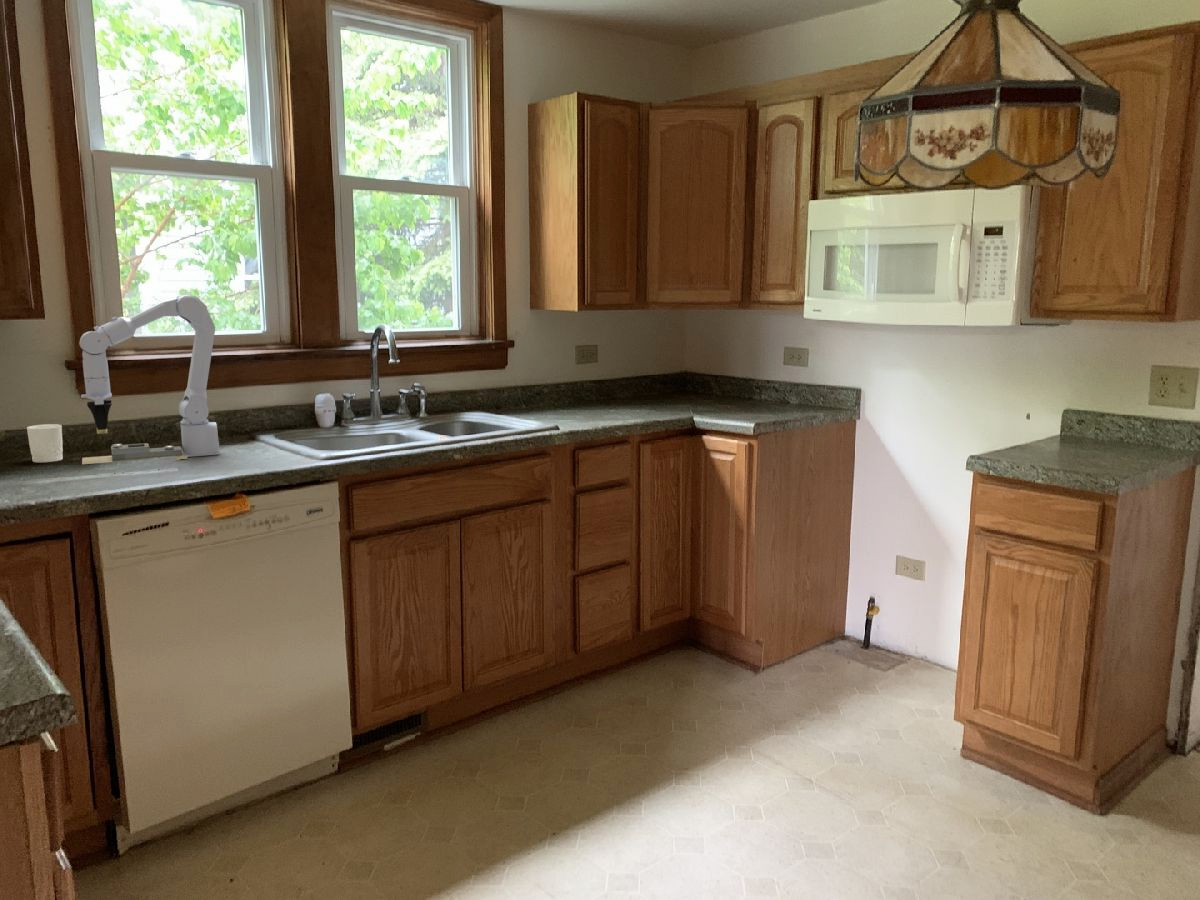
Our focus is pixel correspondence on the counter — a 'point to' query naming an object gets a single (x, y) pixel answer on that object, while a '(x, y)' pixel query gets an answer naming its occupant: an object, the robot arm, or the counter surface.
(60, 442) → the white cup
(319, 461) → the counter surface
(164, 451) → the door lock with knob
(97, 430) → the brass knob
